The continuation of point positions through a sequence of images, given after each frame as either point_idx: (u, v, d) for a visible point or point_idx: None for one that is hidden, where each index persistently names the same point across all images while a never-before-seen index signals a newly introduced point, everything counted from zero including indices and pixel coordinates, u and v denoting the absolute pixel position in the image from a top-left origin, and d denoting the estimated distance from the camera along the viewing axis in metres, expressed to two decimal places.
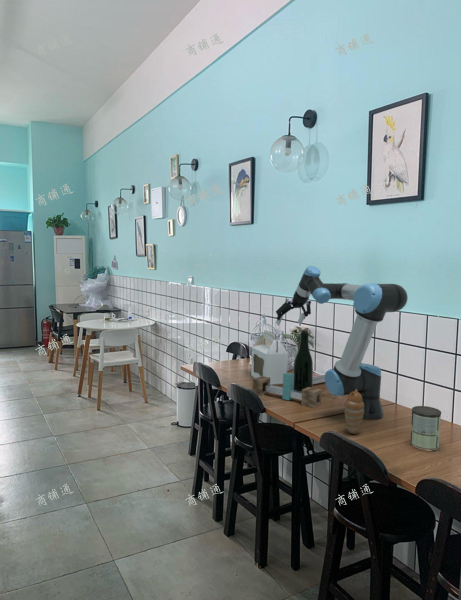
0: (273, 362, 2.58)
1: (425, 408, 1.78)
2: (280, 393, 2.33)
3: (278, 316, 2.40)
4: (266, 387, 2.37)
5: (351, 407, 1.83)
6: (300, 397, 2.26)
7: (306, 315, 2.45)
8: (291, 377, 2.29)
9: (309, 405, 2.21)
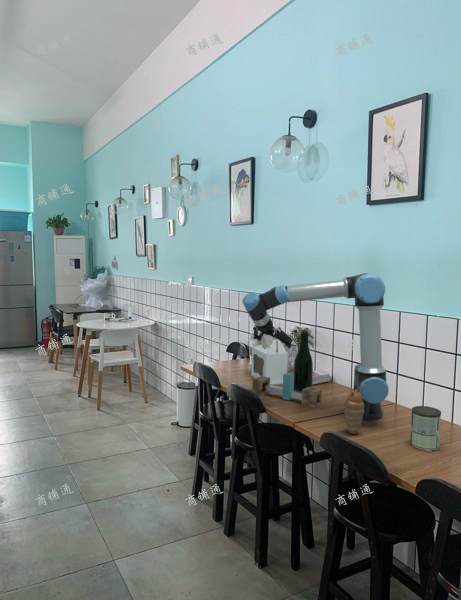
0: (273, 362, 2.58)
1: (425, 408, 1.78)
2: (280, 393, 2.33)
3: None
4: (266, 387, 2.37)
5: (351, 407, 1.83)
6: (300, 397, 2.26)
7: None
8: (291, 377, 2.29)
9: (309, 405, 2.21)
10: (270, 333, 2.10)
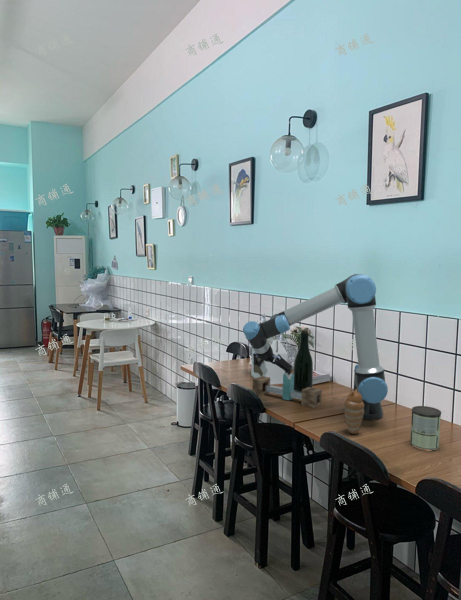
0: None
1: (425, 408, 1.78)
2: (280, 393, 2.33)
3: (289, 370, 2.15)
4: (266, 387, 2.37)
5: (351, 407, 1.83)
6: (300, 397, 2.26)
7: None
8: (291, 377, 2.29)
9: (309, 405, 2.21)
10: (270, 360, 2.12)
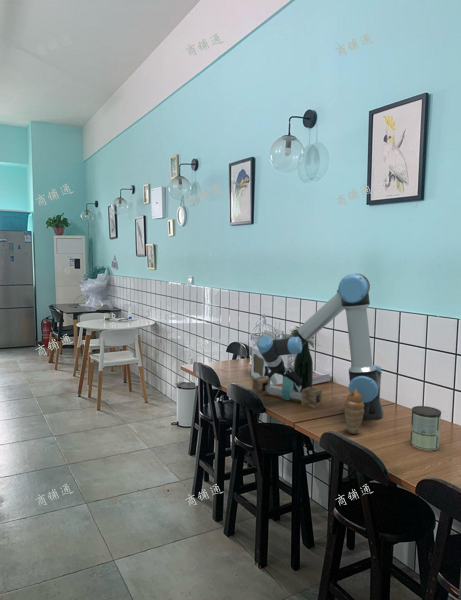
0: None
1: (425, 408, 1.78)
2: (280, 393, 2.33)
3: None
4: (266, 387, 2.38)
5: (351, 407, 1.83)
6: (300, 397, 2.26)
7: None
8: None
9: (309, 405, 2.21)
10: (281, 373, 2.21)
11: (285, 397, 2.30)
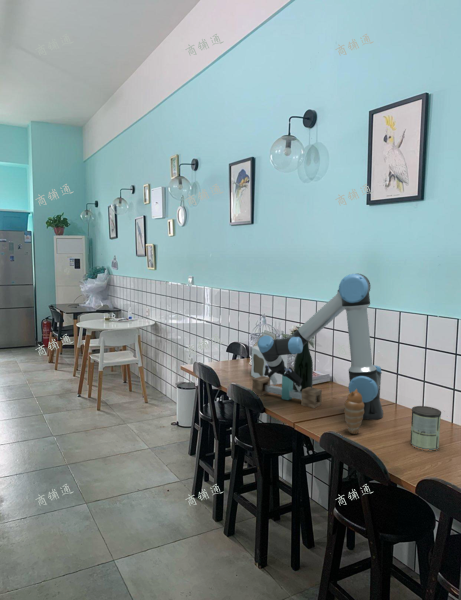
0: None
1: (425, 408, 1.78)
2: (279, 393, 2.33)
3: None
4: (265, 387, 2.38)
5: (351, 407, 1.83)
6: (299, 397, 2.26)
7: (271, 372, 2.34)
8: None
9: (309, 405, 2.21)
10: (281, 372, 2.22)
11: (285, 397, 2.30)
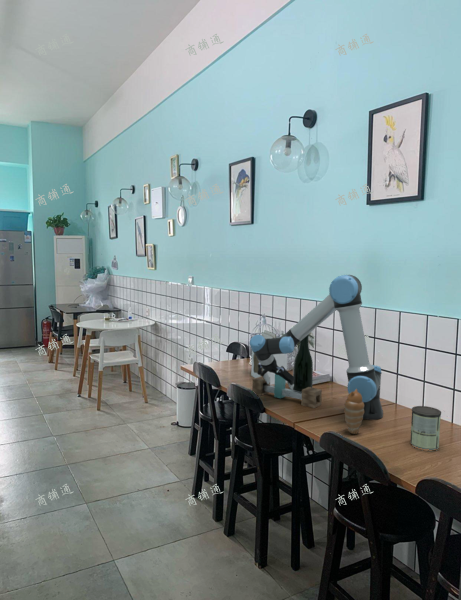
0: None
1: (425, 408, 1.78)
2: (272, 391, 2.35)
3: None
4: None
5: (351, 407, 1.83)
6: (291, 395, 2.29)
7: (264, 371, 2.37)
8: None
9: (309, 405, 2.21)
10: (274, 371, 2.24)
11: (277, 395, 2.33)
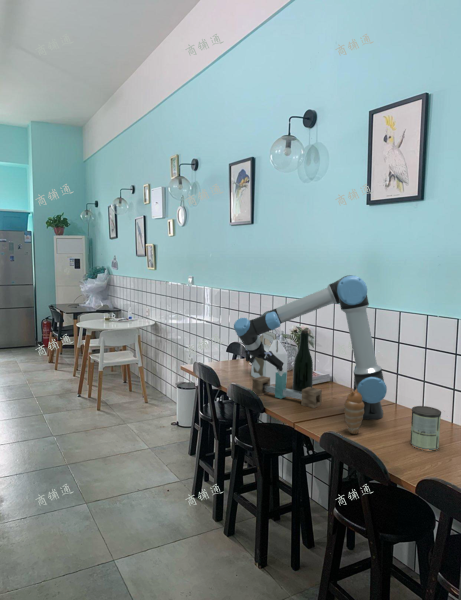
0: None
1: (425, 408, 1.78)
2: (273, 391, 2.35)
3: None
4: None
5: (351, 407, 1.83)
6: (292, 395, 2.28)
7: None
8: (284, 375, 2.32)
9: (309, 405, 2.21)
10: (261, 356, 2.14)
11: (278, 395, 2.33)
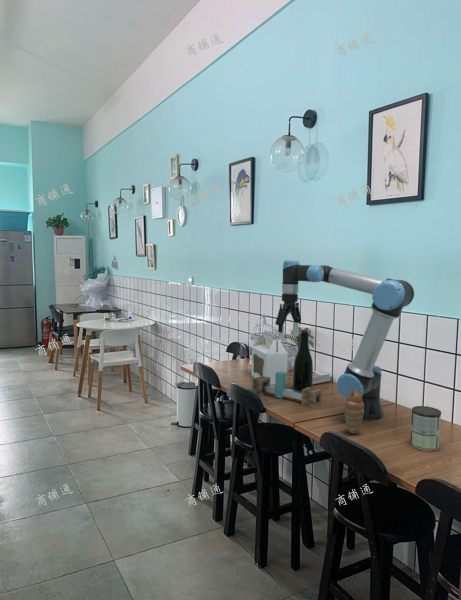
0: (273, 362, 2.58)
1: (425, 408, 1.78)
2: (273, 391, 2.35)
3: (280, 327, 2.13)
4: None
5: (351, 407, 1.83)
6: (292, 395, 2.28)
7: (299, 321, 2.25)
8: (284, 375, 2.32)
9: (309, 405, 2.21)
10: None
11: (278, 395, 2.33)
